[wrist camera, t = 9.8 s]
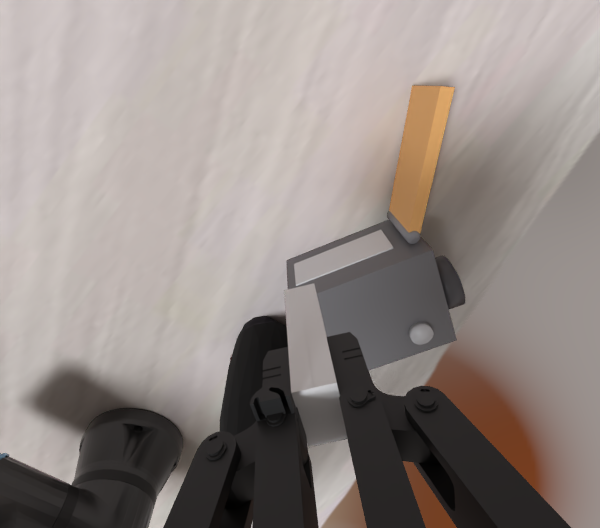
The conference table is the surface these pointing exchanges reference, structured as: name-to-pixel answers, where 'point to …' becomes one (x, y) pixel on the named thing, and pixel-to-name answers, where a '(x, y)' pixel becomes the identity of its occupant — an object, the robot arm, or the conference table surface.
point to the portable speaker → (248, 371)
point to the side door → (418, 158)
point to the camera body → (382, 292)
